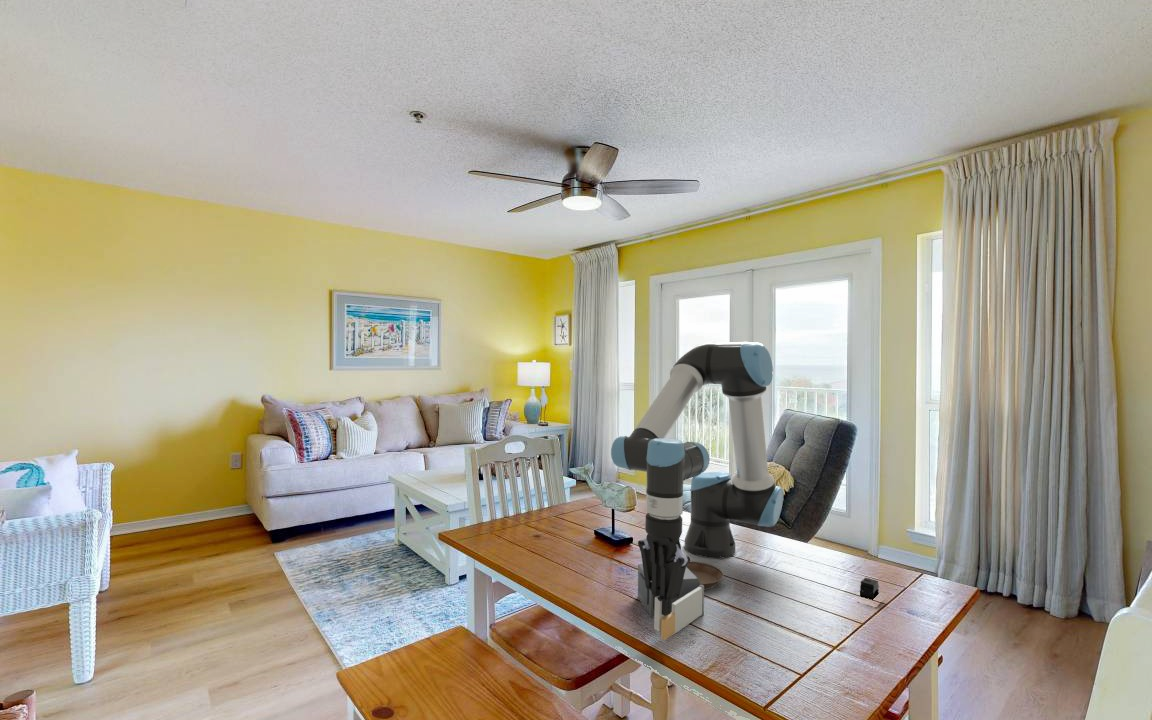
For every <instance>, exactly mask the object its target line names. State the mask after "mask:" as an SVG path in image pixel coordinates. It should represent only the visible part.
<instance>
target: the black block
mask: <svg viewBox="0 0 1152 720" xmlns="http://www.w3.org/2000/svg"><path fill="white" fill-rule="evenodd" d="M859 586H860V587H859V588H860V589H859V591H860V596H861V597H865V598H869V599H872V600H873V599H874V598H875V597H876V596H877V595H878V594H879V593H880V591H879V587H880V585H879V581H878V580H875V579H872V578H869V577H864V578H863V579H862V580H861V581H860V585H859Z"/></svg>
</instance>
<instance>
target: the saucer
mask: <svg viewBox="0 0 1152 720" xmlns="http://www.w3.org/2000/svg"><path fill="white" fill-rule="evenodd" d="M686 567H687V568H688V569H689V570H690V571H691V572H692V573H693V574H695V575H696V576H697V577H698V580H699V583H700V585H704V591H705V590H709V589H710V590H711V588H713V587H715V586H717V585H718V584H719V583H720V582H721V581H722V579H723V578H724V572H723V571H722V569H720V568H718V567H716V566H714V565H712V564H708V563H705V562H699V561H690V562H689V563H688V564H687V566H686Z"/></svg>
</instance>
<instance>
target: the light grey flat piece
mask: <svg viewBox="0 0 1152 720" xmlns="http://www.w3.org/2000/svg"><path fill="white" fill-rule="evenodd" d="M704 603H705V590H704V585H699V587H698V588H696V589H694V590H693V591H691V592H690V593H688V594H686V595H685V596H683V597H682V598H680V599H679V600H677V601H675V602H674V603H672V613H670V614H669V615H667V616H665V617H664V618H662V619H661V631H660V634H661V635H660V639H661V640H664V641H666V640H667V639H668V638H670V637H671V636H673V635H675V634H677V633H678V632H680V631H681V630H682V629H683V628H686V627H687V626H688V625H689V624H690V623H692V622H693V621H694V620H696V619H698V618H699V617H702V616H704V615H705V613H704V612H705V609H704V608H705V604H704Z"/></svg>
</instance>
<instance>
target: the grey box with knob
mask: <svg viewBox="0 0 1152 720" xmlns="http://www.w3.org/2000/svg"><path fill="white" fill-rule="evenodd" d="M650 582H652V581H650ZM699 585H700V583H699V580H698V577H697V576H696V575H695V574H693V573H692V572H691V571H690V570H689V569H688V568H687V567H686V569H685V574H684V578H683V582H682V587H681V591H680V595H679V597H678V598H676V599H673V600H671V612H670V613H672V603H674V602H675V601H677V600H679V599H680V598H682V597H683V596H685V595H686V594H688V593H690V592H691V591H693V590H694V589H696V588H698V587H699ZM637 599H638V600H639V601H640V603H641V604H642V606H643V607H644V609H645V610H646V612H647V614H648V615H649V616H650V617H651V618H654V613H655V610H653V595H652V591H651V590H650V589H647V588H646V585H645V578H644V571H643V563H639V564H637Z"/></svg>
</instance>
